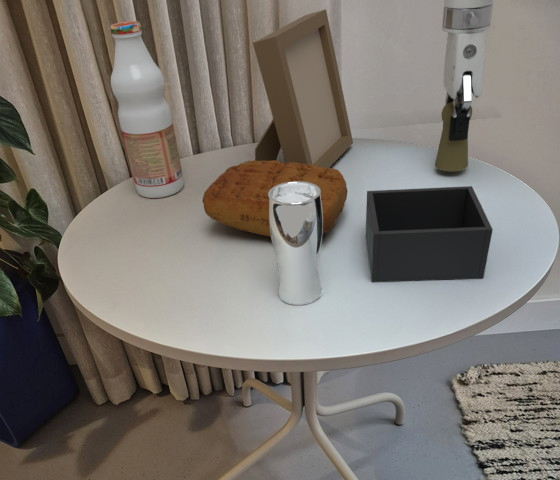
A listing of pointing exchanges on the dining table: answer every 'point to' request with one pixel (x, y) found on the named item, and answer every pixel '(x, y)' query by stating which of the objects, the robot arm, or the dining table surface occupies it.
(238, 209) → the clay tablet
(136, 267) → the dining table surface
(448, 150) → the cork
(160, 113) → the fruit juice
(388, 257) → the basket
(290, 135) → the photo frame
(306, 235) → the beer glass
